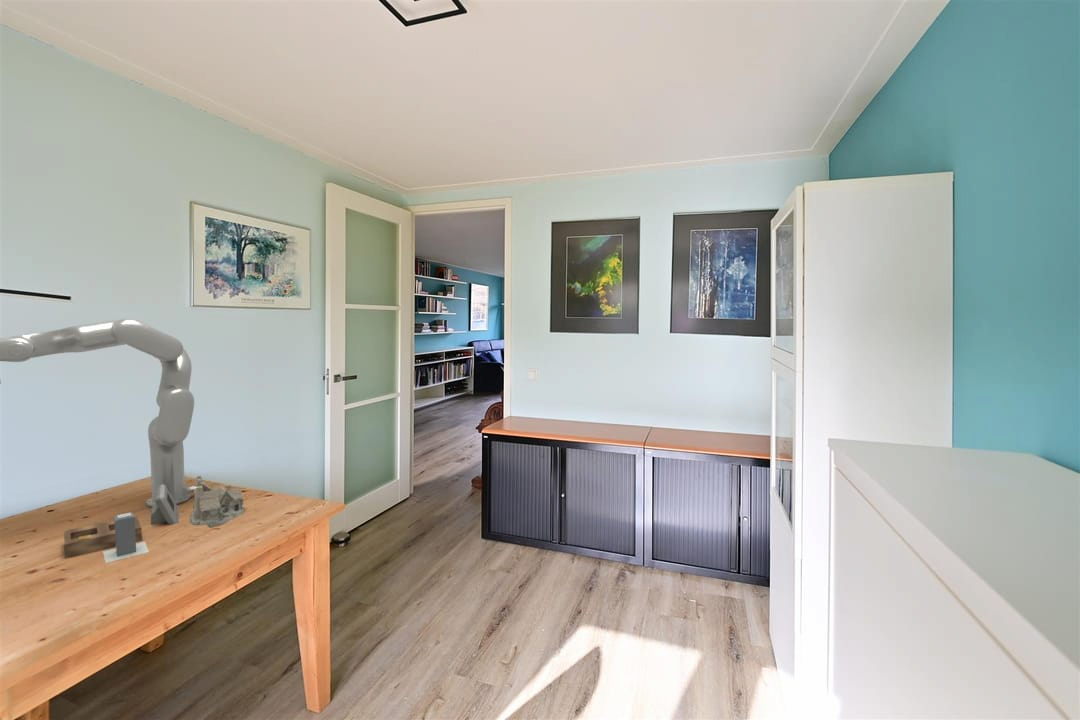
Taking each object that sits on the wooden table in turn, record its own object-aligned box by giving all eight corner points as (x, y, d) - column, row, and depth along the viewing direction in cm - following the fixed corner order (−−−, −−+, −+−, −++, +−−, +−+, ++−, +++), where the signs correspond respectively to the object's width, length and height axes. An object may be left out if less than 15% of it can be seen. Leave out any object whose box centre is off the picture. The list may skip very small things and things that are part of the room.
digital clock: (177, 528, 152) (175, 495, 151) (141, 533, 148) (139, 499, 147) (188, 510, 166) (187, 480, 165) (156, 514, 162) (155, 483, 162)
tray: (145, 545, 139) (144, 541, 139) (149, 556, 133) (148, 552, 133) (103, 555, 133) (103, 551, 133) (105, 567, 127) (105, 562, 127)
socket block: (137, 531, 149) (136, 514, 148) (142, 544, 140) (141, 526, 140) (65, 547, 137) (64, 529, 137) (65, 562, 129) (64, 543, 128)
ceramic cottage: (186, 531, 149) (188, 483, 149) (190, 515, 163) (192, 471, 163) (244, 524, 157) (246, 478, 157) (243, 509, 171) (245, 467, 171)
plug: (134, 547, 136) (133, 511, 135) (136, 551, 133) (134, 515, 132) (115, 551, 133) (114, 515, 132) (117, 556, 130) (115, 519, 129)
